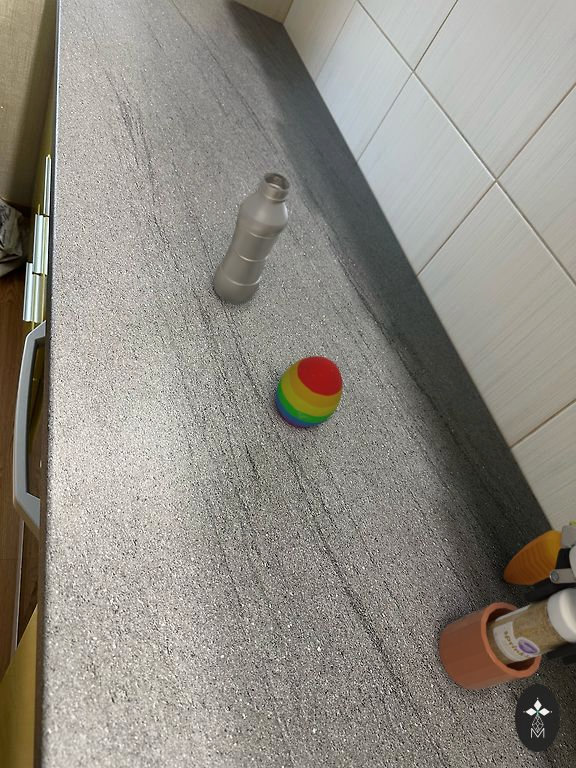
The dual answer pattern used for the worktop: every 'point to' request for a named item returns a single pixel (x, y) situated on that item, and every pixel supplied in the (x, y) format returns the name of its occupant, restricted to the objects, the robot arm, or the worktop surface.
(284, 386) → the decorative egg
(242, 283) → the plastic bottle
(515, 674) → the terracotta pot
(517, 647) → the sprinkles bottle
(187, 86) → the worktop surface
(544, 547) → the carrot
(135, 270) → the worktop surface
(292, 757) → the worktop surface
